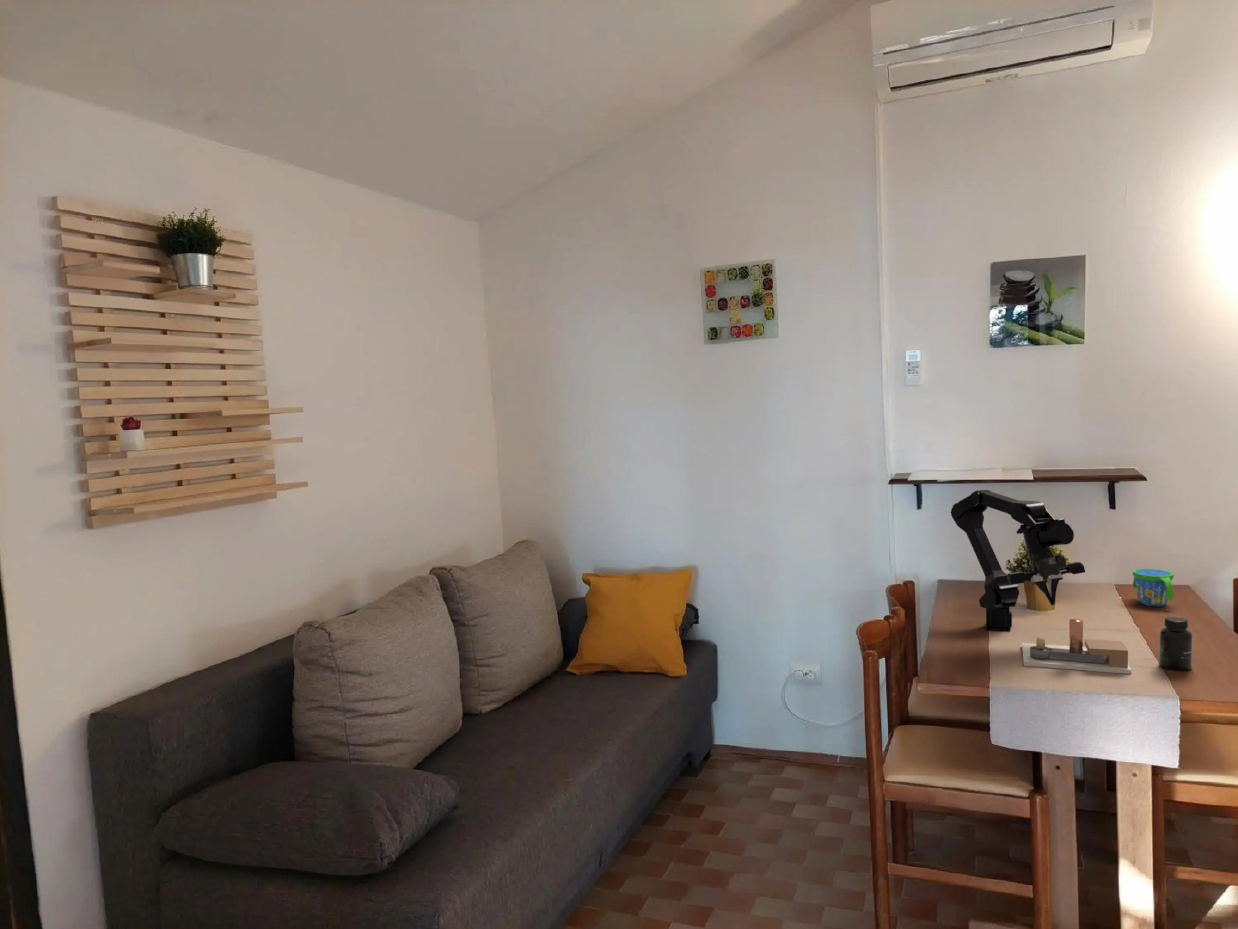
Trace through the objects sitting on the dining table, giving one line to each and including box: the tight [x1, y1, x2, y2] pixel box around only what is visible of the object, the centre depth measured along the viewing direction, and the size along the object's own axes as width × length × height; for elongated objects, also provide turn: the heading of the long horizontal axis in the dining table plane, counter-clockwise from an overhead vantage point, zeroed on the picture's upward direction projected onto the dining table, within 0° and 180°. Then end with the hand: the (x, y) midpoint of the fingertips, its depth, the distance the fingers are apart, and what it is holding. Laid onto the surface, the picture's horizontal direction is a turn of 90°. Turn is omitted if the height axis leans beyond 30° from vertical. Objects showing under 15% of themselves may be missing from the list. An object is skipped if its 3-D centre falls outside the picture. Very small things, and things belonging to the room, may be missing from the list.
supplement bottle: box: [1158, 616, 1193, 672], centre depth 214 cm, size 7×7×12 cm
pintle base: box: [1021, 636, 1132, 675], centre depth 223 cm, size 24×16×6 cm
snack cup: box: [1132, 568, 1175, 608], centre depth 270 cm, size 16×11×10 cm
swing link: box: [1030, 618, 1104, 664], centre depth 220 cm, size 16×5×10 cm, turn 65°
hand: (1052, 605), depth 235 cm, fingers closed
